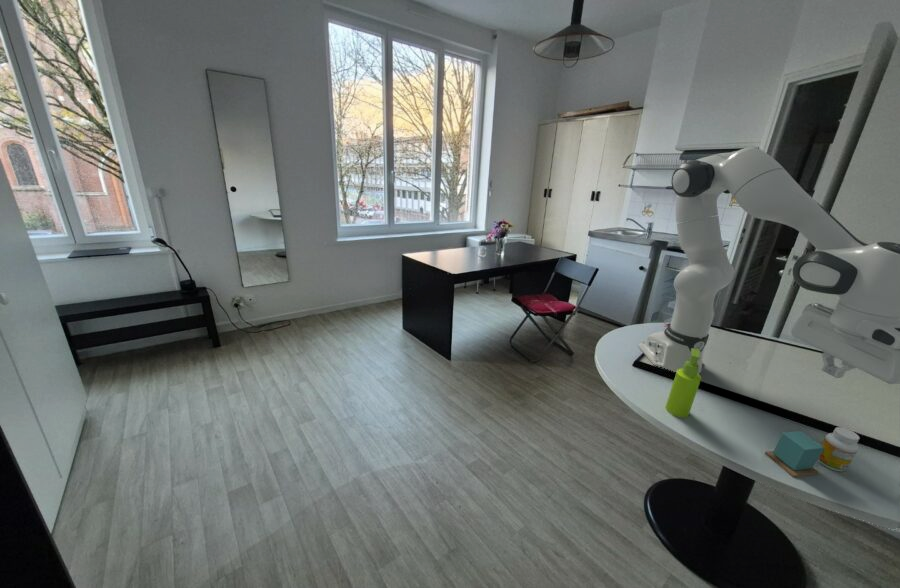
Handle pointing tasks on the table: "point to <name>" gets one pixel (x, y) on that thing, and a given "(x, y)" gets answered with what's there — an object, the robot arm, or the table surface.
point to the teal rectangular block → (798, 450)
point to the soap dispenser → (684, 387)
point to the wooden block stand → (789, 470)
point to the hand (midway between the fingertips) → (831, 374)
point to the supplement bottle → (839, 449)
